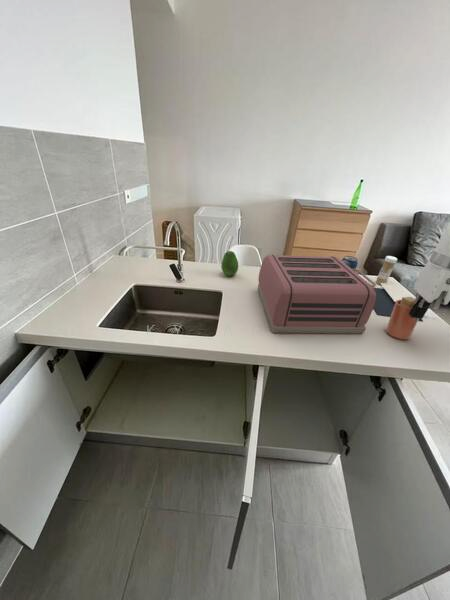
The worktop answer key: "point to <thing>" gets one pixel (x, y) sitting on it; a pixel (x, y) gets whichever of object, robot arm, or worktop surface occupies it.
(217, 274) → the worktop surface
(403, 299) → the block
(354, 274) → the toaster
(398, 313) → the tumbler
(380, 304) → the mat
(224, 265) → the fruit
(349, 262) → the soda can
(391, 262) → the sprinkles bottle
